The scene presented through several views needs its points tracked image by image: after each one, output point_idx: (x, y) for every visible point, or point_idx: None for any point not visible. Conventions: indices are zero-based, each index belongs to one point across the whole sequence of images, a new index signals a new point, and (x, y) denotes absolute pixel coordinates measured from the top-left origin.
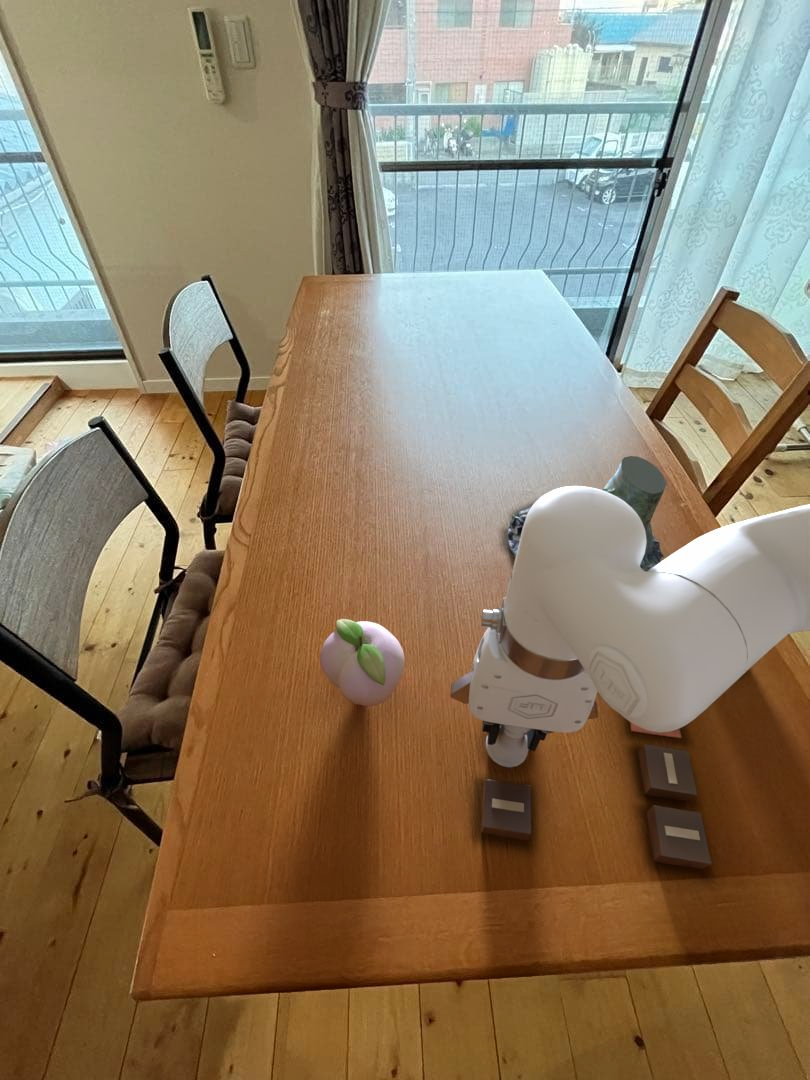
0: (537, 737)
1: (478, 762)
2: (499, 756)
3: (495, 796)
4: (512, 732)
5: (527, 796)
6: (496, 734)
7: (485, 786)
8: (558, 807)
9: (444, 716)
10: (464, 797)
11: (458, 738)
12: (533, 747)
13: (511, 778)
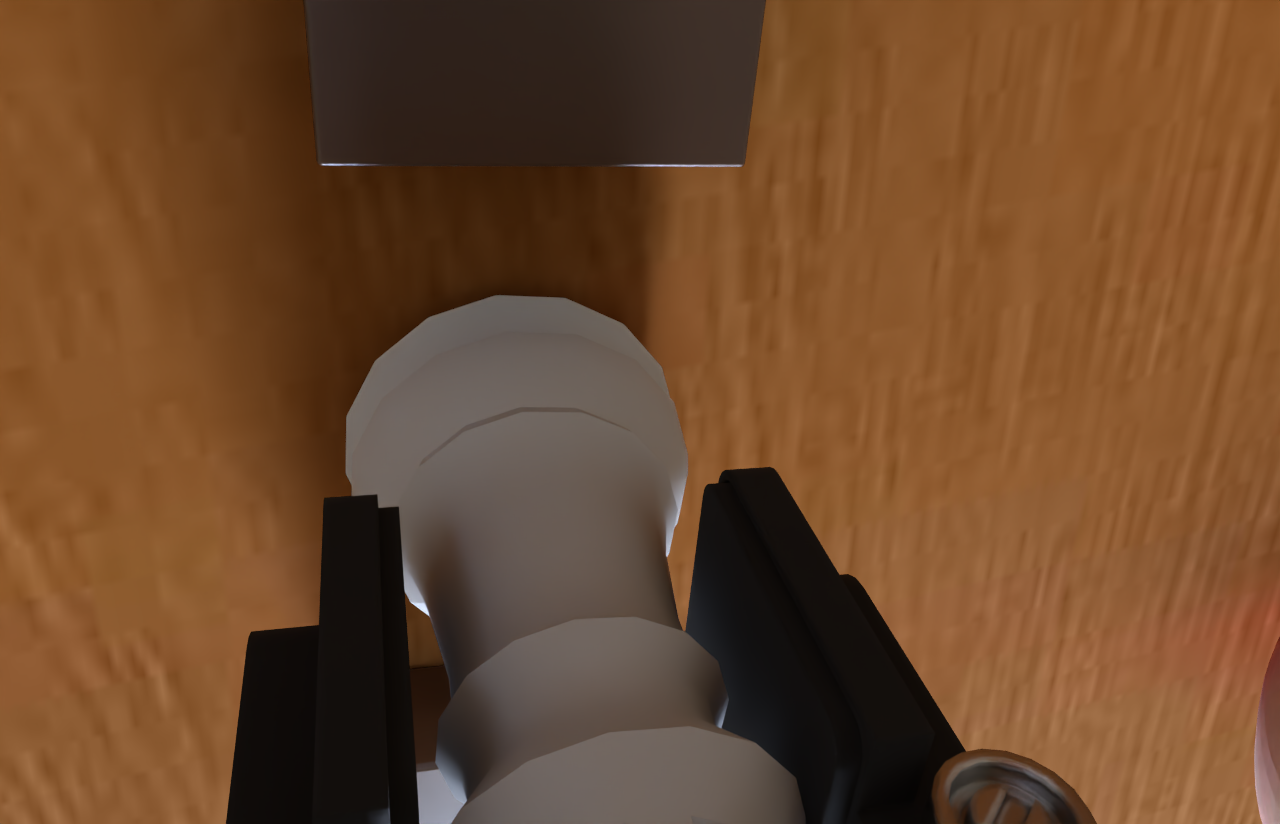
0: (361, 741)
1: (717, 288)
2: (608, 371)
3: (665, 16)
4: (687, 729)
5: (345, 56)
6: (799, 621)
7: (751, 99)
8: (3, 18)
9: (915, 530)
10: (846, 5)
11: (842, 420)
12: (355, 550)
13: (462, 212)
